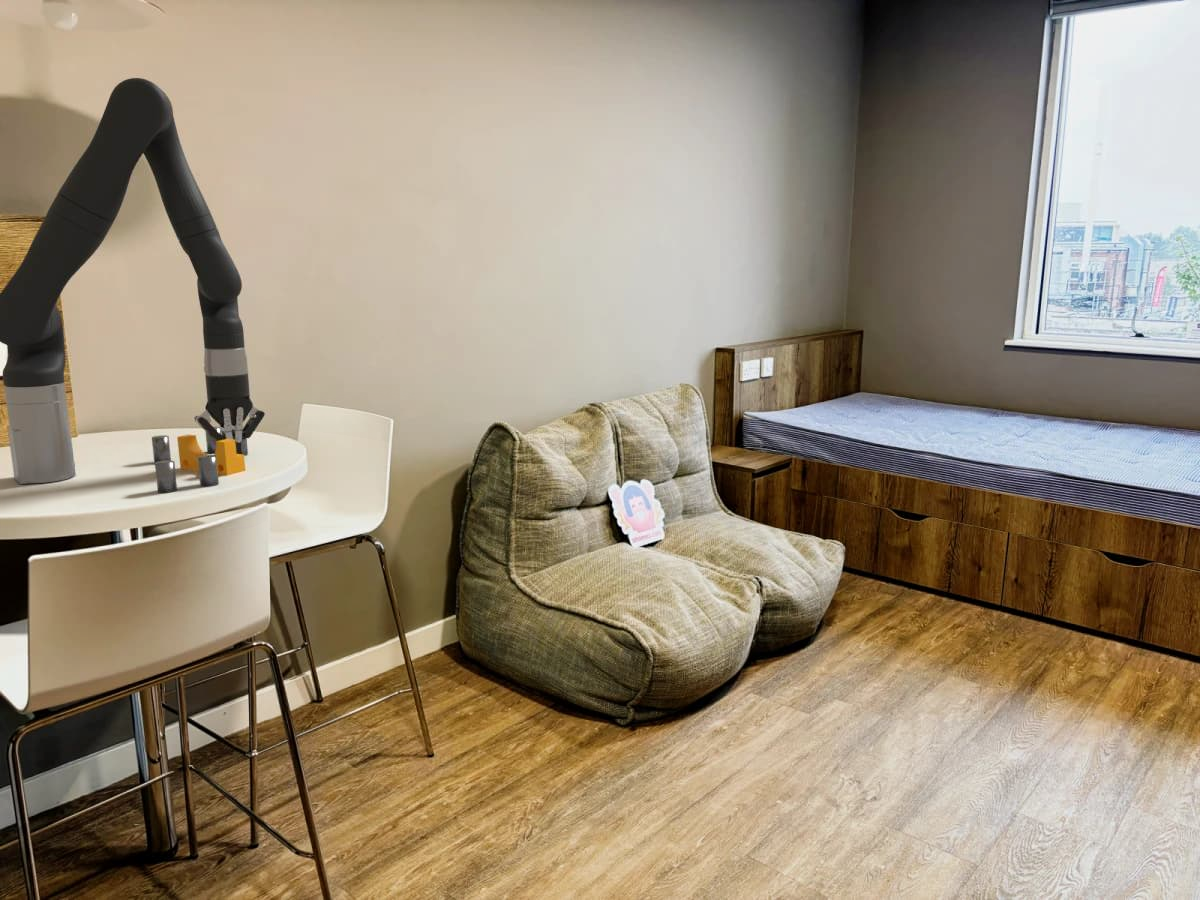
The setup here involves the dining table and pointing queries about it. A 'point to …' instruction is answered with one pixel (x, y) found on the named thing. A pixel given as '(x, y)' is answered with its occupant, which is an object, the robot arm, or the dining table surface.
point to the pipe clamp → (224, 453)
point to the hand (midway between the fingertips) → (233, 461)
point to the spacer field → (167, 467)
